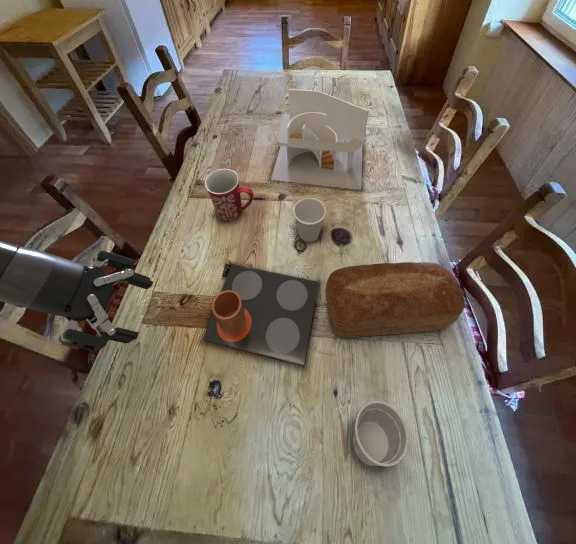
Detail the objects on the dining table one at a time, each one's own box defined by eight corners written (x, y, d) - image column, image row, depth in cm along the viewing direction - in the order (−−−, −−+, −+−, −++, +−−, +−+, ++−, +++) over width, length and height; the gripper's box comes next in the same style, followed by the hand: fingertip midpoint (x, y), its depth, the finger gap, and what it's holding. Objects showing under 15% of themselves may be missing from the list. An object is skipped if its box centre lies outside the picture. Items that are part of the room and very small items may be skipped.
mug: (208, 221, 96) (198, 190, 87) (221, 197, 103) (213, 165, 93) (250, 230, 94) (244, 199, 84) (261, 205, 100) (256, 174, 91)
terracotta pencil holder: (242, 340, 72) (235, 322, 65) (216, 333, 73) (207, 315, 66) (250, 313, 76) (245, 293, 69) (226, 307, 77) (218, 287, 70)
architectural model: (270, 179, 107) (264, 120, 91) (283, 136, 122) (280, 79, 106) (361, 189, 103) (371, 129, 87) (362, 143, 118) (372, 85, 101)
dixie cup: (315, 215, 97) (316, 193, 90) (330, 238, 91) (332, 216, 84) (288, 226, 94) (287, 204, 87) (302, 250, 89) (302, 228, 82)
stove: (303, 367, 70) (303, 364, 69) (204, 341, 74) (202, 338, 73) (318, 284, 82) (318, 281, 81) (232, 266, 86) (231, 263, 85)
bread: (320, 290, 81) (323, 259, 71) (436, 281, 82) (455, 249, 72) (328, 344, 73) (332, 318, 63) (457, 334, 73) (482, 306, 63)
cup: (338, 441, 61) (344, 430, 53) (366, 404, 65) (376, 388, 57) (375, 486, 57) (387, 482, 48) (402, 443, 61) (418, 433, 52)
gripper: (20, 323, 43) (142, 350, 50) (70, 227, 53) (165, 262, 61) (4, 339, 46) (120, 362, 54) (53, 247, 57) (144, 278, 64)
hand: (143, 309), depth 57 cm, fingers open, 8 cm apart
